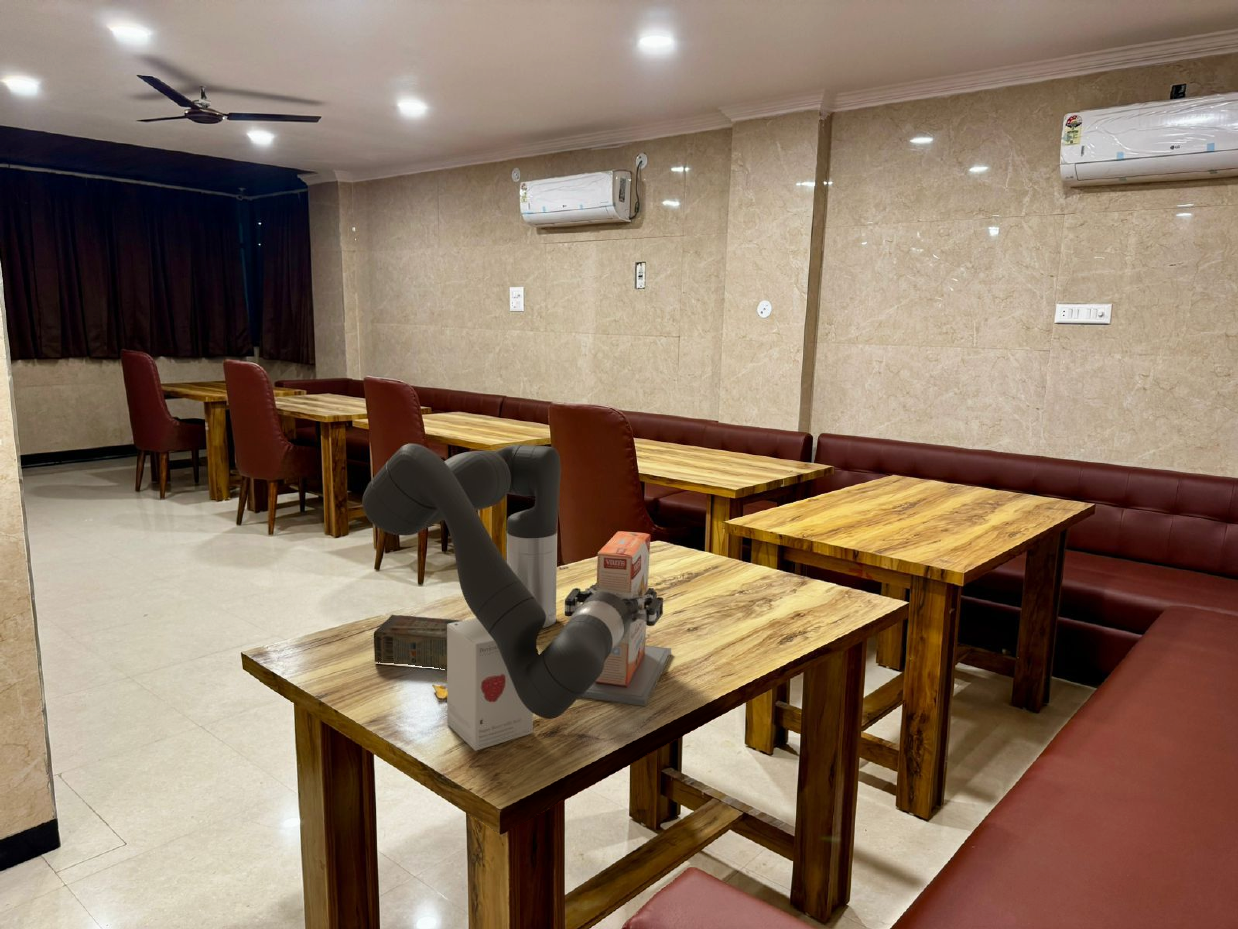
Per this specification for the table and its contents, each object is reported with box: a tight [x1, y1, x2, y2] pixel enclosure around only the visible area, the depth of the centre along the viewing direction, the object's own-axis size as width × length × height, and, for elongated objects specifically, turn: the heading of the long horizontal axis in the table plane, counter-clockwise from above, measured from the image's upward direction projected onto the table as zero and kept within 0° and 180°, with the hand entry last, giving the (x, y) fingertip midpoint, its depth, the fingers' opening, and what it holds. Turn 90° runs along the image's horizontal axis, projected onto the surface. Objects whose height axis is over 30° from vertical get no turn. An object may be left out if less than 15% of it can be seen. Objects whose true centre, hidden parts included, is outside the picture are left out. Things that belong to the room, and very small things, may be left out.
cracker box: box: [595, 530, 651, 686], centre depth 129 cm, size 14×6×21 cm, turn 167°
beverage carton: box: [373, 614, 463, 671], centre depth 134 cm, size 8×19×7 cm, turn 83°
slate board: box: [579, 644, 672, 707], centre depth 131 cm, size 20×12×1 cm, turn 165°
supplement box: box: [446, 616, 534, 752], centre depth 111 cm, size 9×9×15 cm
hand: (625, 591), depth 129 cm, fingers open, 8 cm apart
